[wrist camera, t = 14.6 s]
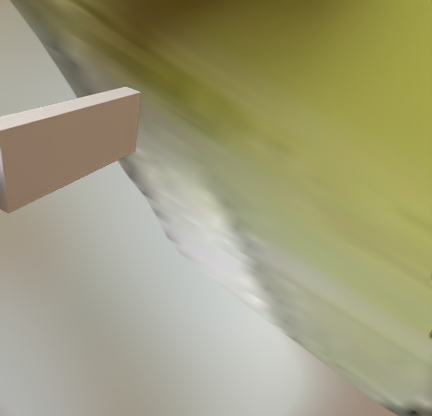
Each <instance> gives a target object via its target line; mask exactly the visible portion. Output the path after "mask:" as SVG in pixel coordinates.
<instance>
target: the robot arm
mask: <svg viewBox="0 0 432 416" xmlns="http://www.w3.org/2000/svg"><path fill="white" fill-rule="evenodd" d="M140 97H141V92H139V91H136V90H134V89H131V88H128V87H123V88H118V89H114V90H110V91H106V92H102V93H98V94H93V95H89V96H85V97H81V98H77V99H72V100H68V101H64V102H60V103H56V104H52V105H47V106H43V107H39V108H35V109H30V110H26V111H22V112H18V113H14V114H10V115H5V116H1V117H0V209H1V210H3V211H5V212H7V213H11V212H13V211H15V210H17V209H19V208H21V207H23V206H25V205H27V204H29V203H31V202H33V201H35V200H37V199H39V198H41V197H43V196H45V195H47V194H49V193H51V192H54V191H56V190H57V189H59V188H62V187H64V186H66V185H68V184H70V183H72V182H74V181H76V180H78V179H80V178H82V177H84V176H86V175H88V174H90V173H92V172H94V171H96V170H98V169H100V168H103V167H105V166H107V165H109V164H111V163H113V162H115V161H117V160H119V159H121V158H123V157H125V156H127V155H129V154H131V153H133V152H135V149H136V139H137V128H138V118H139V107H140ZM431 283H432V274H431Z"/></svg>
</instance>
